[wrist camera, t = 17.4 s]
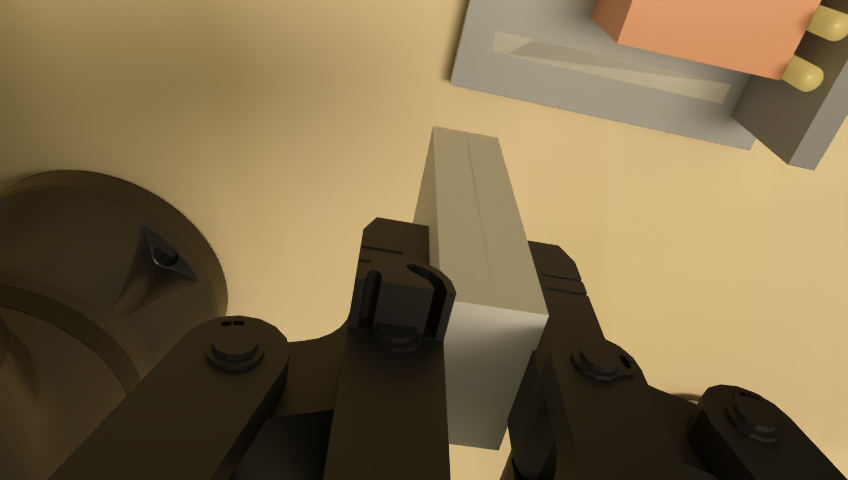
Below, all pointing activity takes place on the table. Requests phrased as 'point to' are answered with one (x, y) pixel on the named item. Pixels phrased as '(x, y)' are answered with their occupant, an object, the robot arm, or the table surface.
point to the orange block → (712, 30)
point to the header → (658, 77)
